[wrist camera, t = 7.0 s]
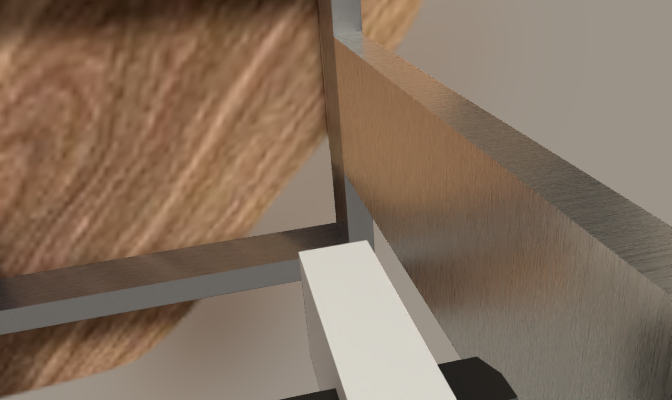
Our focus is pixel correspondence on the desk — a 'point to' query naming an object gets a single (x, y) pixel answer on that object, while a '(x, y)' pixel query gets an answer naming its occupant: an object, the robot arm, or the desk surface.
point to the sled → (436, 238)
